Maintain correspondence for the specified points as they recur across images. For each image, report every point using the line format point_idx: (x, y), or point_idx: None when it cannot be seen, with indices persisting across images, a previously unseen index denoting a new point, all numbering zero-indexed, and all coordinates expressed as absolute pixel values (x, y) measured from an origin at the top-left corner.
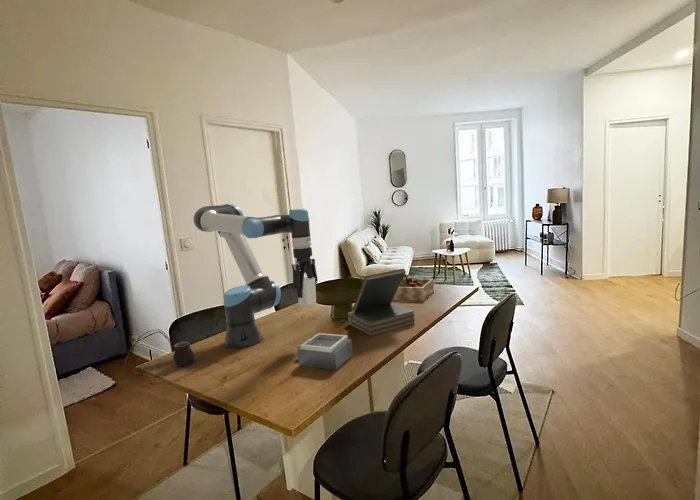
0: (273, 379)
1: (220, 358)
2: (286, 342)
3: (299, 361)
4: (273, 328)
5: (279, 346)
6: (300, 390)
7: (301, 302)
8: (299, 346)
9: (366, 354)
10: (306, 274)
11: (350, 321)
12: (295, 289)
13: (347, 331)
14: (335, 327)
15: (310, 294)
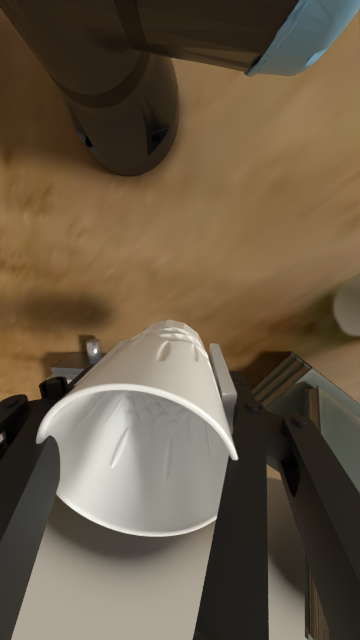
0: (19, 338)
1: (23, 148)
2: (156, 260)
3: (68, 356)
4: (248, 133)
5: (131, 258)
6: (17, 391)
7: None
8: (88, 345)
9: None
10: (218, 512)
11: (290, 363)
12: (54, 383)
13: (245, 365)
14: (270, 328)
15: (137, 413)
